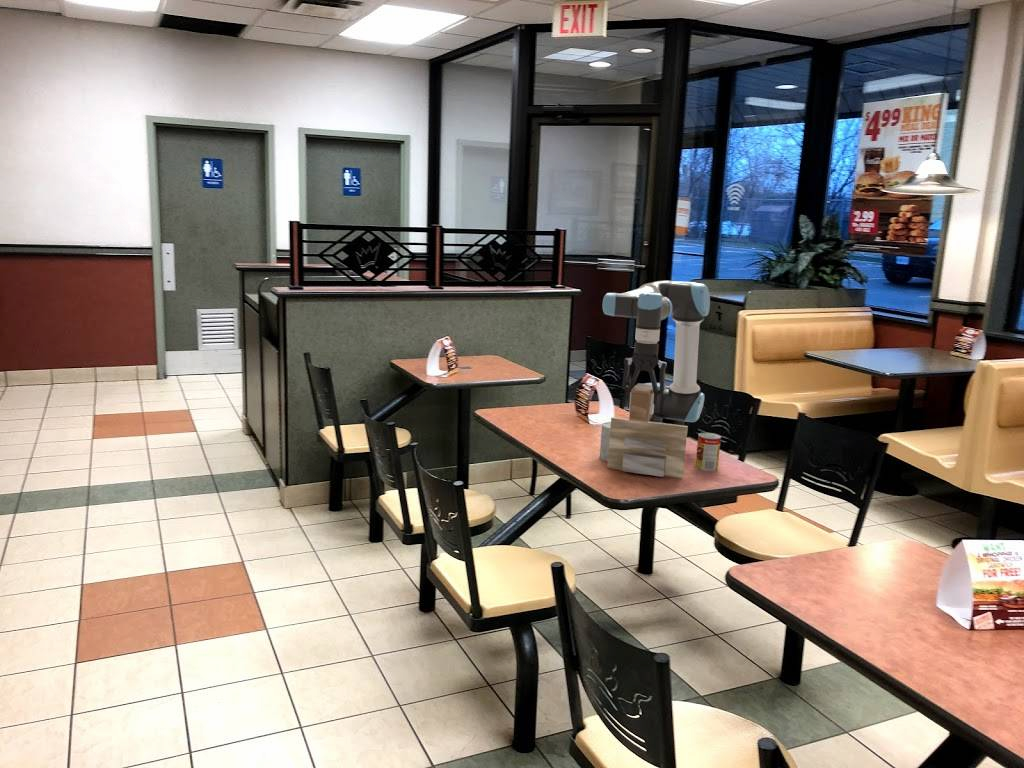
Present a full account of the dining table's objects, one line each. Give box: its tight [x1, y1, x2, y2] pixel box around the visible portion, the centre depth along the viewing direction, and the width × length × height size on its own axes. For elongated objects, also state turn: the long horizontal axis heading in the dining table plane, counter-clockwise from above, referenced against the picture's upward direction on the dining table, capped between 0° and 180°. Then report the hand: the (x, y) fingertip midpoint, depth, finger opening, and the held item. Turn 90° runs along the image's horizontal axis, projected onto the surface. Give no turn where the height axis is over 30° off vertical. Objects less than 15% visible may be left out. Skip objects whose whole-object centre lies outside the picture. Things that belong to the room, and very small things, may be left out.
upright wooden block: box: [628, 383, 654, 422], centre depth 268 cm, size 13×6×10 cm, turn 161°
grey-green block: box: [598, 421, 611, 462], centre depth 302 cm, size 10×10×12 cm
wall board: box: [607, 416, 689, 479], centre depth 284 cm, size 6×26×18 cm, turn 72°
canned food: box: [694, 432, 722, 472], centre depth 295 cm, size 8×8×12 cm
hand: (641, 412), depth 267 cm, fingers closed on upright wooden block, 6 cm apart
